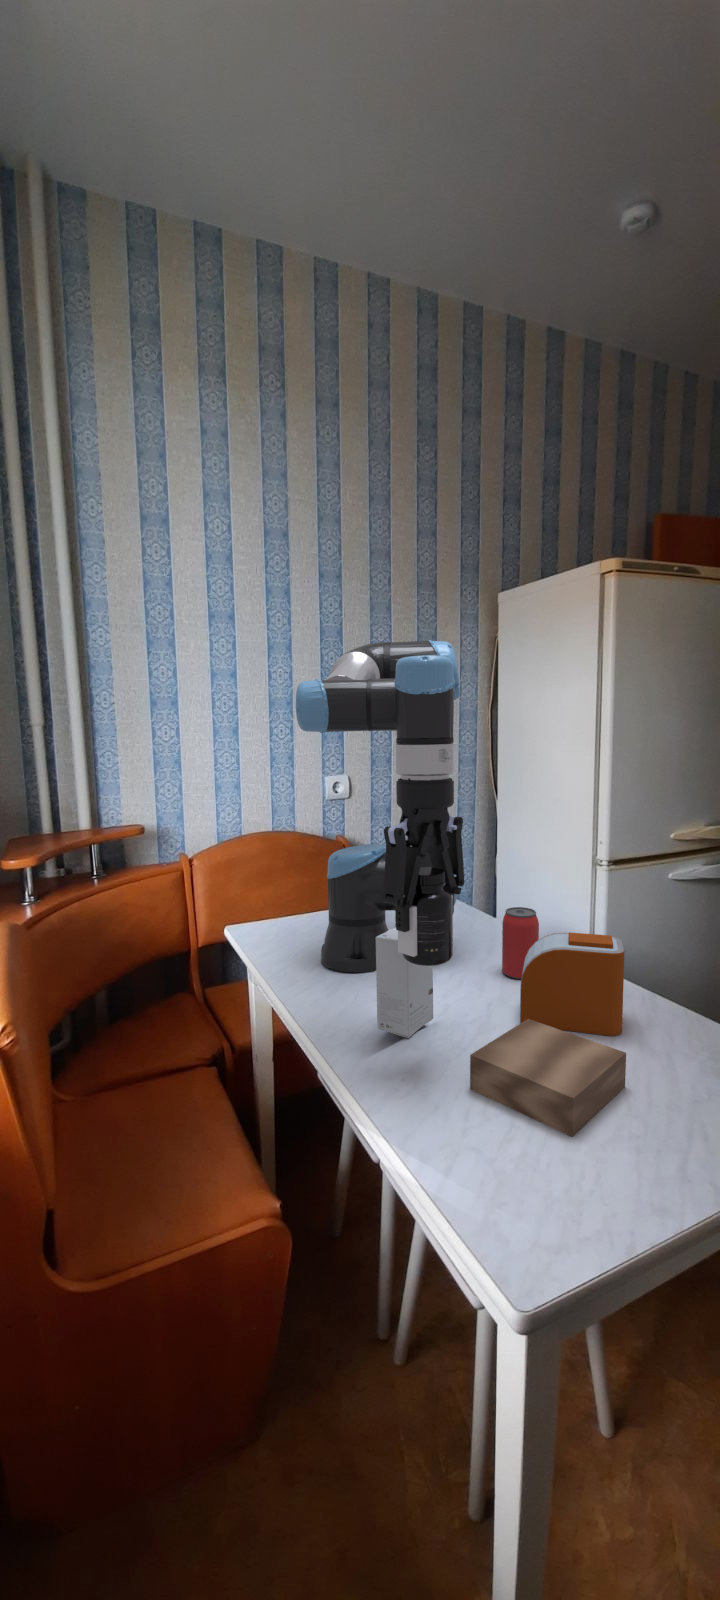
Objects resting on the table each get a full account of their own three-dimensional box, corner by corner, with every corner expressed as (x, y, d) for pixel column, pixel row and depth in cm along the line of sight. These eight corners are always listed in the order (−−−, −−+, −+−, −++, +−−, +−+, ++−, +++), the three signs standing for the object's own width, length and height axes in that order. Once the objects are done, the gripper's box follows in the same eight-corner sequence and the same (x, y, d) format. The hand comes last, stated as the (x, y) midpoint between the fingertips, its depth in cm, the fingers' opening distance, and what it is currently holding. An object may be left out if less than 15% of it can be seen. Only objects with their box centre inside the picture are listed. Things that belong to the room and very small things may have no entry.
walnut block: (470, 1091, 83) (470, 1054, 82) (527, 1052, 92) (528, 1018, 92) (572, 1140, 73) (573, 1098, 72) (625, 1089, 82) (626, 1052, 82)
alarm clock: (618, 1013, 103) (621, 931, 102) (623, 1038, 95) (625, 949, 94) (523, 1003, 108) (524, 924, 106) (519, 1025, 100) (520, 940, 98)
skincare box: (409, 1039, 96) (408, 942, 94) (374, 1029, 99) (373, 936, 97) (435, 1018, 103) (434, 927, 101) (402, 1009, 106) (401, 921, 104)
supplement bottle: (398, 949, 90) (397, 866, 89) (446, 947, 91) (446, 864, 89) (406, 968, 84) (405, 877, 82) (458, 965, 84) (458, 875, 83)
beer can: (535, 967, 123) (535, 906, 122) (541, 981, 117) (542, 916, 115) (500, 966, 124) (500, 905, 123) (504, 980, 117) (504, 916, 116)
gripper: (395, 784, 75) (397, 974, 78) (492, 772, 89) (491, 934, 91) (350, 780, 80) (354, 959, 83) (448, 770, 94) (448, 923, 97)
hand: (425, 946), depth 87 cm, fingers closed on supplement bottle, 7 cm apart
